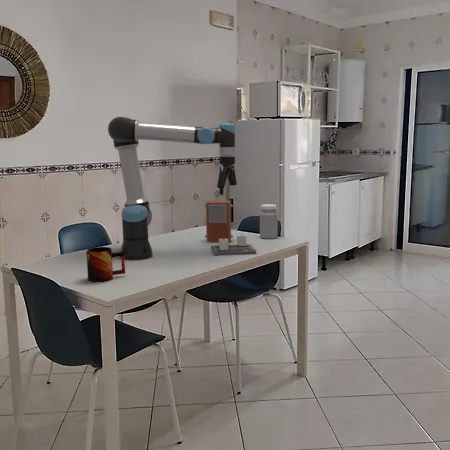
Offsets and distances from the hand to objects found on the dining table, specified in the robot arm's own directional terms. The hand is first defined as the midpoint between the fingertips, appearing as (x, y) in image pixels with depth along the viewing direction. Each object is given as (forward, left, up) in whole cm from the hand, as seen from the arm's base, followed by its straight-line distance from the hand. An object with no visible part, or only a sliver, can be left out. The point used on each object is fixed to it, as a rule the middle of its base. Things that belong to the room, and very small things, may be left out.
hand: (227, 200), depth 254 cm
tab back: (+7, -2, -22) cm, 23 cm away
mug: (-55, -45, -25) cm, 76 cm away
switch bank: (+2, -6, -24) cm, 25 cm away
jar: (+26, +24, -25) cm, 43 cm away
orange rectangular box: (-2, +19, -25) cm, 31 cm away
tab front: (-3, -10, -22) cm, 25 cm away
